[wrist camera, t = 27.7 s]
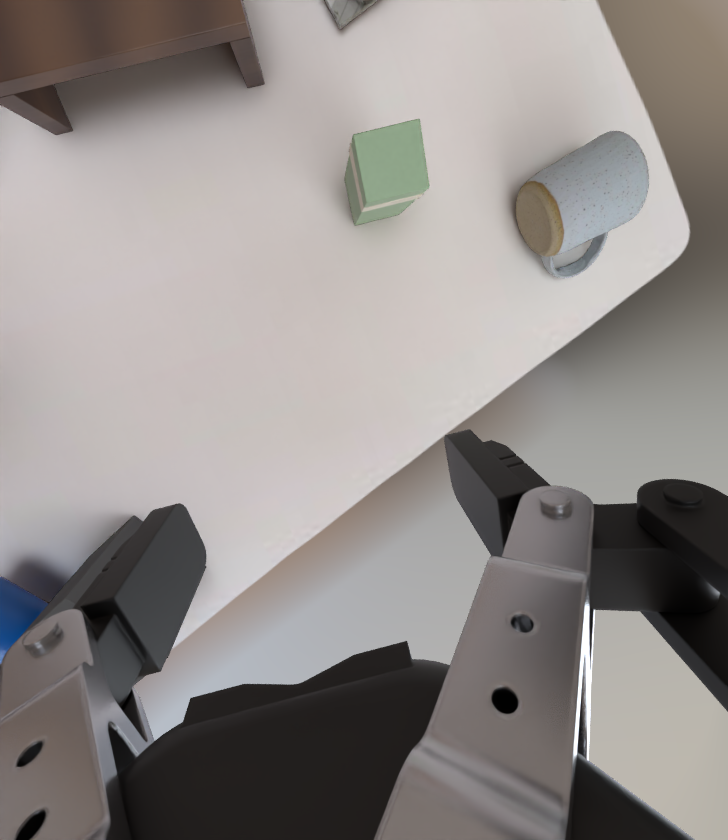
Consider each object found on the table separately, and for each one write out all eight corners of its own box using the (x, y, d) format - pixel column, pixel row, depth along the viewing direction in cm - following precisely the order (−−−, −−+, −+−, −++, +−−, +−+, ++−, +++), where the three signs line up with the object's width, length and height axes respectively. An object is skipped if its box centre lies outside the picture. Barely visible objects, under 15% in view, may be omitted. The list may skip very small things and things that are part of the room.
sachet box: (353, 226, 36) (365, 204, 26) (343, 177, 34) (351, 133, 24) (400, 215, 36) (430, 188, 26) (391, 166, 34) (420, 116, 24)
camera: (93, 487, 42) (-30, 596, 28) (206, 566, 48) (153, 693, 33) (-34, 611, 46) (-201, 764, 32) (83, 671, 52) (-14, 827, 37)
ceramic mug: (500, 192, 36) (544, 171, 29) (578, 145, 35) (644, 113, 28) (534, 293, 40) (581, 297, 33) (605, 253, 39) (668, 248, 32)
